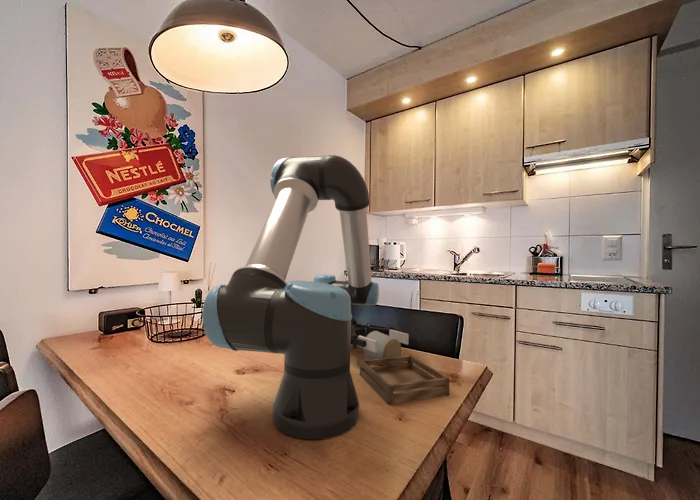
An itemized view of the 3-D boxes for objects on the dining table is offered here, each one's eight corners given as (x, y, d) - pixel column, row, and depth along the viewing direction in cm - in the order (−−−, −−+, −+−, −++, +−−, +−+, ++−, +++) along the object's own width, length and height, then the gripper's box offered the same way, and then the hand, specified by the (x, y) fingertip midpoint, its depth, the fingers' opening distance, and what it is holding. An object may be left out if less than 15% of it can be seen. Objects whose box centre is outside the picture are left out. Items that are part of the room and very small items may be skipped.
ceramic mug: (384, 370, 78) (385, 339, 78) (362, 361, 84) (362, 332, 84) (411, 361, 85) (411, 333, 85) (388, 354, 91) (389, 327, 91)
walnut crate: (388, 404, 60) (388, 386, 60) (359, 374, 74) (359, 360, 74) (449, 395, 64) (449, 378, 64) (410, 368, 79) (411, 355, 79)
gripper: (368, 333, 105) (421, 349, 88) (308, 345, 90) (358, 367, 73) (368, 311, 105) (421, 322, 88) (309, 319, 90) (358, 335, 73)
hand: (392, 342), depth 81 cm, fingers open, 11 cm apart
